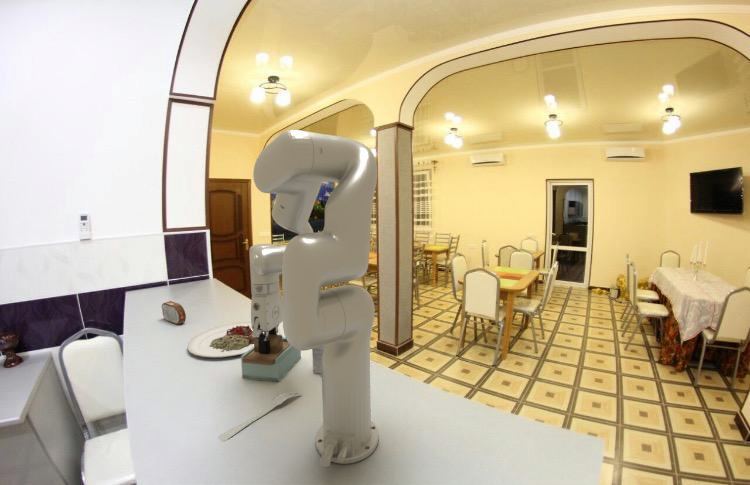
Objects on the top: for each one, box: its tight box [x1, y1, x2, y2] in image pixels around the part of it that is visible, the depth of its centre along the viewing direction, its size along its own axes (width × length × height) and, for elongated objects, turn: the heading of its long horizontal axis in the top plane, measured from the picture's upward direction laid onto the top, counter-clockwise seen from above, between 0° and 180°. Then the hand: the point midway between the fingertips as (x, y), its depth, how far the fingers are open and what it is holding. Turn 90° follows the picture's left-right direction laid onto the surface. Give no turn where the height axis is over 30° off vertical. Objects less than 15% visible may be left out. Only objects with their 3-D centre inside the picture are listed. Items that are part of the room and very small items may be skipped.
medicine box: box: [311, 345, 325, 374], centre depth 92 cm, size 8×4×9 cm, turn 168°
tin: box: [161, 300, 187, 325], centre depth 131 cm, size 15×3×8 cm, turn 58°
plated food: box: [187, 321, 281, 358], centre depth 112 cm, size 30×30×3 cm
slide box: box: [240, 336, 302, 383], centre depth 92 cm, size 14×11×6 cm
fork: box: [217, 391, 303, 443], centre depth 72 cm, size 3×21×3 cm, turn 141°
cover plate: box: [243, 334, 290, 366], centre depth 90 cm, size 12×9×5 cm
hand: (268, 349), depth 90 cm, fingers closed on cover plate, 3 cm apart
